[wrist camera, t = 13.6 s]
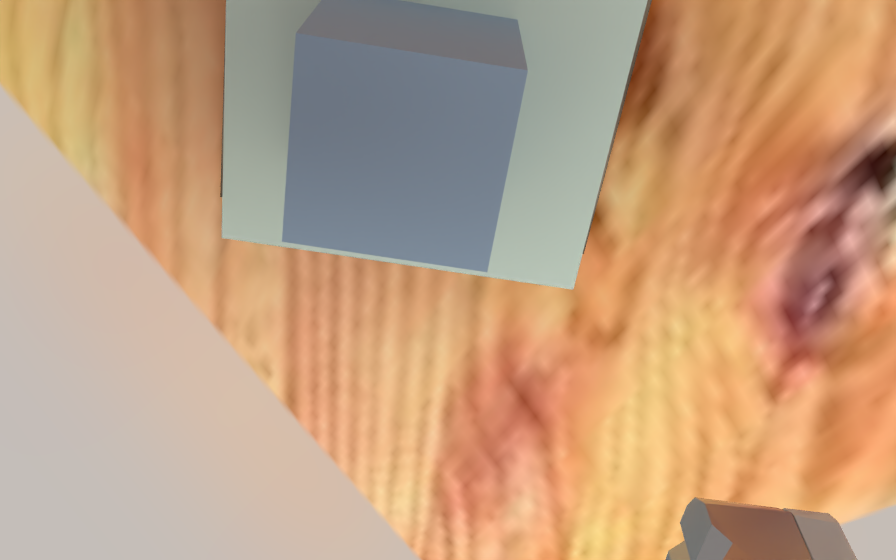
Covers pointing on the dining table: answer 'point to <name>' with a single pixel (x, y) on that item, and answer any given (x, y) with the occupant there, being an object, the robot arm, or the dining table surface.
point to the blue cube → (402, 130)
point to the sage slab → (535, 143)
